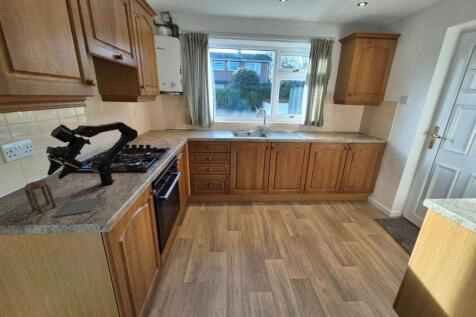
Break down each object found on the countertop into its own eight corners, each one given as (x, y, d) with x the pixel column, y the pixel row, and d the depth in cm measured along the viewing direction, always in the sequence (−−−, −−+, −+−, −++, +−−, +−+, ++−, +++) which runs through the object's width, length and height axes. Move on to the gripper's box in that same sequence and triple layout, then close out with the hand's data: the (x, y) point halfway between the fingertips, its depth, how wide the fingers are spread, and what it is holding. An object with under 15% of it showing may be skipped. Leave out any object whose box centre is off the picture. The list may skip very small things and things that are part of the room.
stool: (49, 203, 96) (40, 179, 92) (56, 206, 93) (48, 182, 89) (31, 210, 90) (22, 185, 86) (39, 214, 88) (29, 188, 84)
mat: (65, 203, 96) (65, 202, 96) (99, 198, 100) (99, 197, 100) (52, 217, 85) (52, 216, 85) (91, 211, 89) (91, 210, 89)
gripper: (46, 137, 96) (23, 166, 90) (68, 141, 89) (44, 173, 83) (69, 148, 105) (50, 176, 100) (91, 153, 98) (71, 183, 92)
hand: (53, 177), depth 93 cm, fingers open, 9 cm apart
